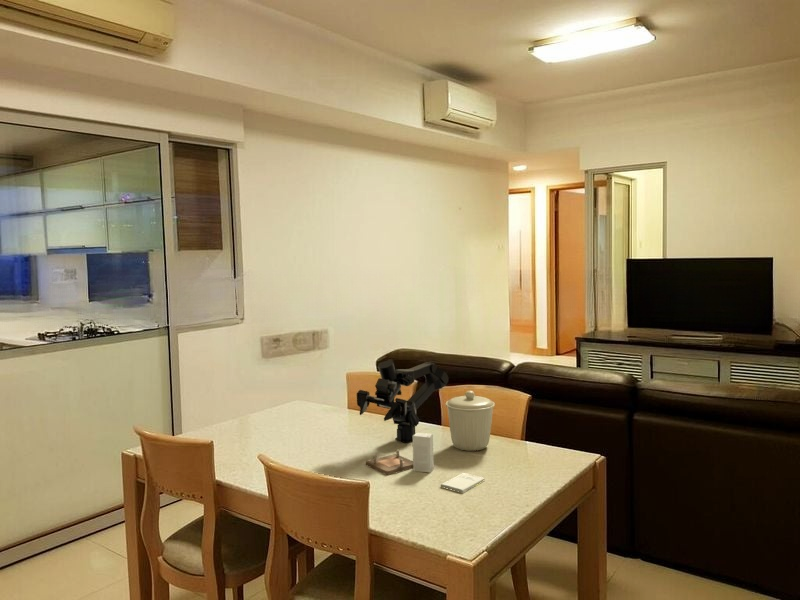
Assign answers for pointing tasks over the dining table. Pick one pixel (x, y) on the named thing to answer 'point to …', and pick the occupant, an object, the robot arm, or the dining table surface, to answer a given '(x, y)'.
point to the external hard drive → (462, 482)
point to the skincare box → (423, 452)
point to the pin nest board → (390, 463)
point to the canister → (470, 421)
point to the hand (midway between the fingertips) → (372, 416)
